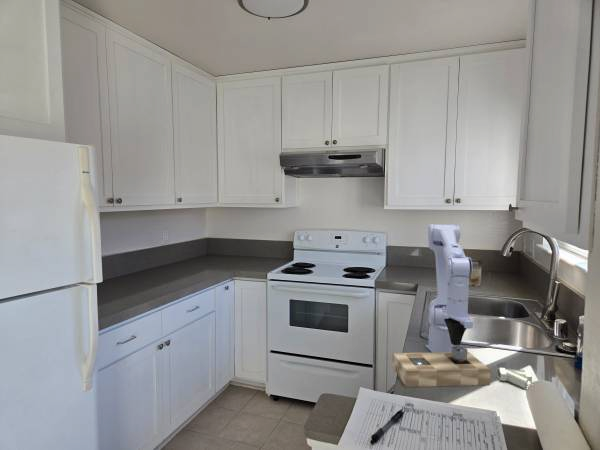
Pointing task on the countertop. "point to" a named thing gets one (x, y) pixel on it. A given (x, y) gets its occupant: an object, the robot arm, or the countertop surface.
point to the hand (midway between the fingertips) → (455, 344)
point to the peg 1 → (419, 362)
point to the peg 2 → (459, 355)
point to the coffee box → (476, 272)
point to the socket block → (439, 370)
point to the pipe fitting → (515, 376)
